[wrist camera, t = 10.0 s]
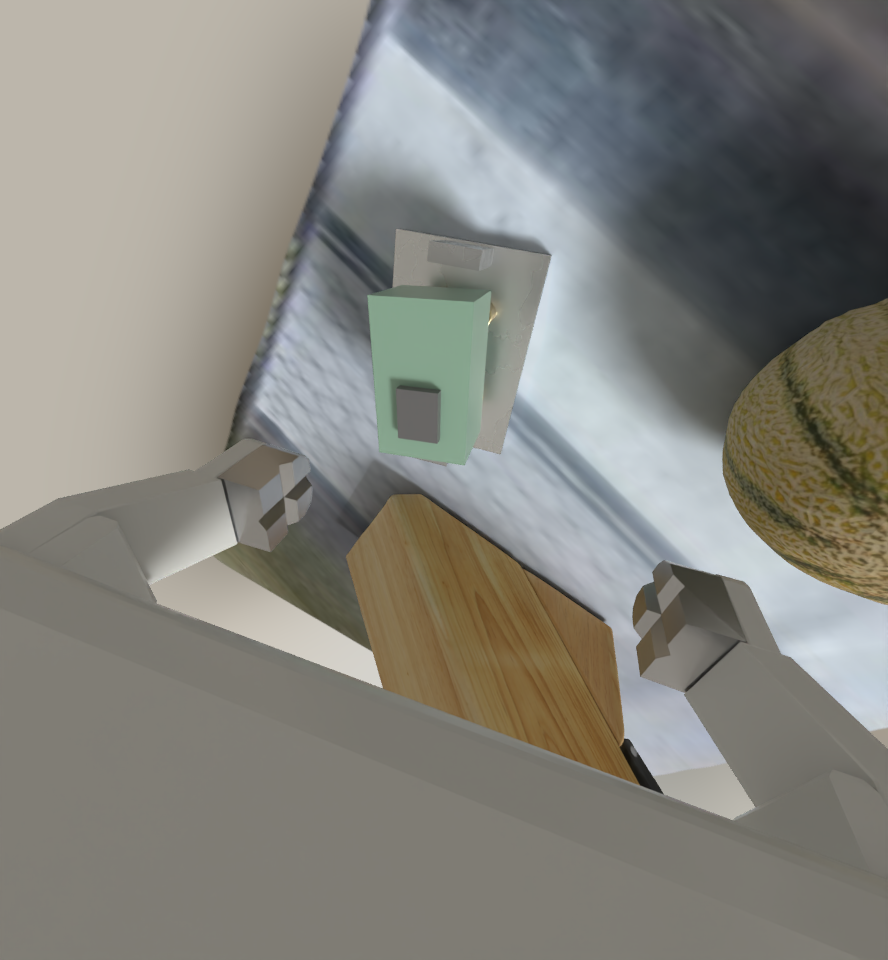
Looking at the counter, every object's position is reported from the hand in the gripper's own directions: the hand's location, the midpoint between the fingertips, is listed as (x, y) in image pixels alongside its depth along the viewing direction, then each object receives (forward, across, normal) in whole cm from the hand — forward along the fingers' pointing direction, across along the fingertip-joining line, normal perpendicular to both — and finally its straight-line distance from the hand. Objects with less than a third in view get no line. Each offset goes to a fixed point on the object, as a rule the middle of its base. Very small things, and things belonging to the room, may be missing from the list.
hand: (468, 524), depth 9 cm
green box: (+18, +5, +3) cm, 19 cm away
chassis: (+22, +5, +3) cm, 23 cm away
